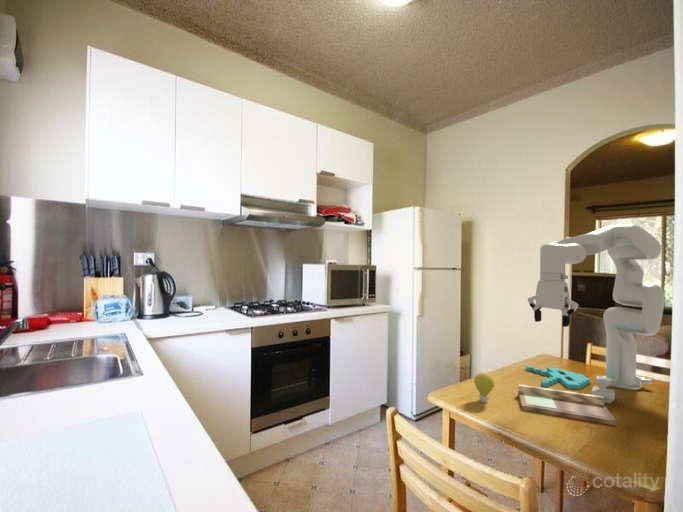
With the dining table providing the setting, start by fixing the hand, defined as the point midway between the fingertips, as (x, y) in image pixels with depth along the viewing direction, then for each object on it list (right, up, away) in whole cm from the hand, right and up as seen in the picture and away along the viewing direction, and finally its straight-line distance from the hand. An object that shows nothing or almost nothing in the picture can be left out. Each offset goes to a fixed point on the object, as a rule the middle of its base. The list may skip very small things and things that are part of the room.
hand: (551, 323), depth 121 cm
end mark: (-8, -26, -5) cm, 28 cm away
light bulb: (-26, -28, -3) cm, 38 cm away
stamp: (+18, -28, -2) cm, 33 cm away
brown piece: (-1, -28, -8) cm, 29 cm away
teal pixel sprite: (+16, -28, +19) cm, 37 cm away
